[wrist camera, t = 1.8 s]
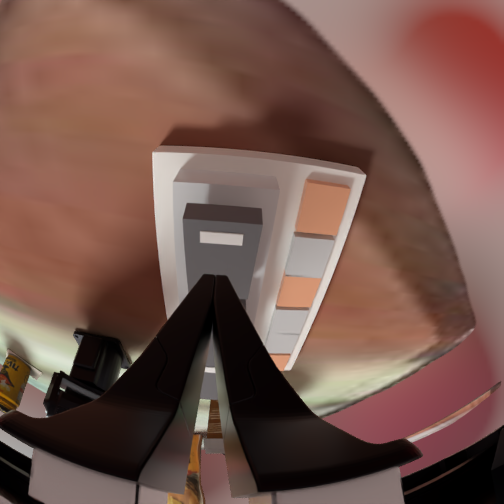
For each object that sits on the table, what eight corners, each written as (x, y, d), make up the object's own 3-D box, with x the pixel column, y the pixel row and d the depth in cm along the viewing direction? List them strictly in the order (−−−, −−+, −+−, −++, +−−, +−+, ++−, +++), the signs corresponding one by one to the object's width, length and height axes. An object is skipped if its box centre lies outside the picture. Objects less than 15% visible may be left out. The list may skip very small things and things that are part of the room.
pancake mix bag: (219, 436, 52) (220, 540, 30) (175, 444, 60) (172, 529, 38) (195, 430, 49) (193, 541, 27) (155, 438, 57) (149, 527, 34)
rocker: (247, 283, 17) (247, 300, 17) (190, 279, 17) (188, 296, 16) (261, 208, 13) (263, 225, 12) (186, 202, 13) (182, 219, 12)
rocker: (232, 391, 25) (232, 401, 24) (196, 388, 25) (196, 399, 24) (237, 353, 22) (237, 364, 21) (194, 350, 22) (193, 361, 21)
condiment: (8, 347, 32) (-13, 399, 23) (42, 372, 36) (26, 424, 27) (6, 357, 35) (-12, 403, 25) (37, 378, 39) (22, 425, 29)
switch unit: (289, 359, 30) (293, 389, 27) (177, 354, 29) (173, 384, 26) (357, 167, 17) (383, 192, 14) (159, 145, 16) (138, 166, 12)
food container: (277, 406, 40) (282, 460, 32) (244, 412, 42) (245, 464, 34) (245, 379, 33) (248, 449, 25) (206, 387, 35) (203, 452, 27)
